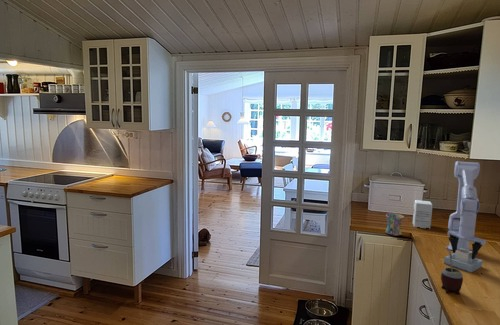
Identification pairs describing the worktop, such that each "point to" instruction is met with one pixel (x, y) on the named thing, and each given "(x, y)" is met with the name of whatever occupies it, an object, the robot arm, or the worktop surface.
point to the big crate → (464, 264)
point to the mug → (394, 224)
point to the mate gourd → (451, 278)
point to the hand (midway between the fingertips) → (463, 255)
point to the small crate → (463, 256)
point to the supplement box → (422, 214)
